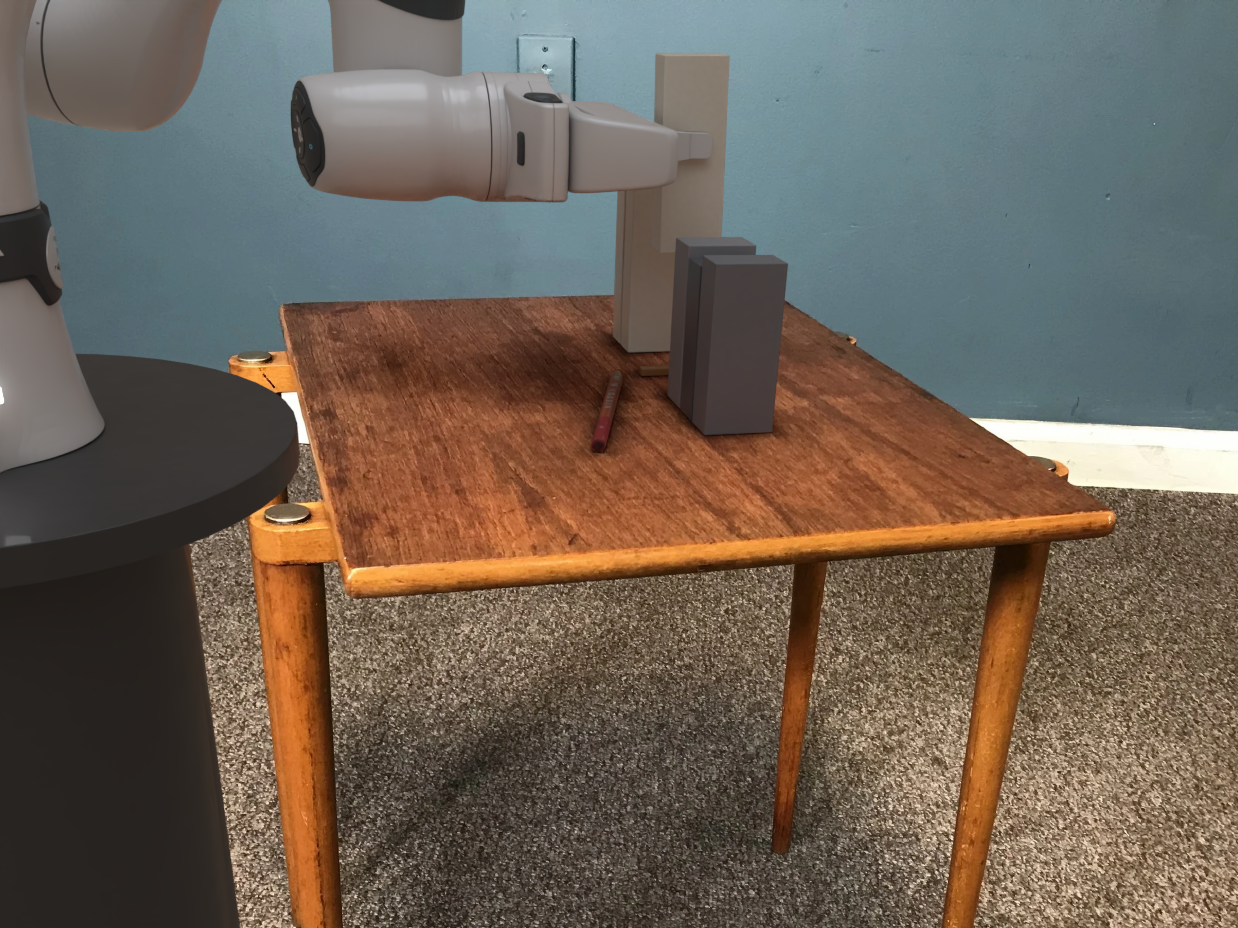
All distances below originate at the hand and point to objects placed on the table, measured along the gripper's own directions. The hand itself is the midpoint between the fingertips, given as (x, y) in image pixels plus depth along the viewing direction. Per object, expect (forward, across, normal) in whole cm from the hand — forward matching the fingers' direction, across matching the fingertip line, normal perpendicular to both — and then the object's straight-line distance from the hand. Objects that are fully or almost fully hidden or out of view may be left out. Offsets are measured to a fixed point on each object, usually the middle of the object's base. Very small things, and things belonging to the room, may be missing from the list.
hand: (701, 141), depth 97 cm
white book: (-1, 0, -8) cm, 8 cm away
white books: (-1, -6, -18) cm, 19 cm away
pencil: (-9, +9, -18) cm, 22 cm away
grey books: (-1, +11, -18) cm, 21 cm away
